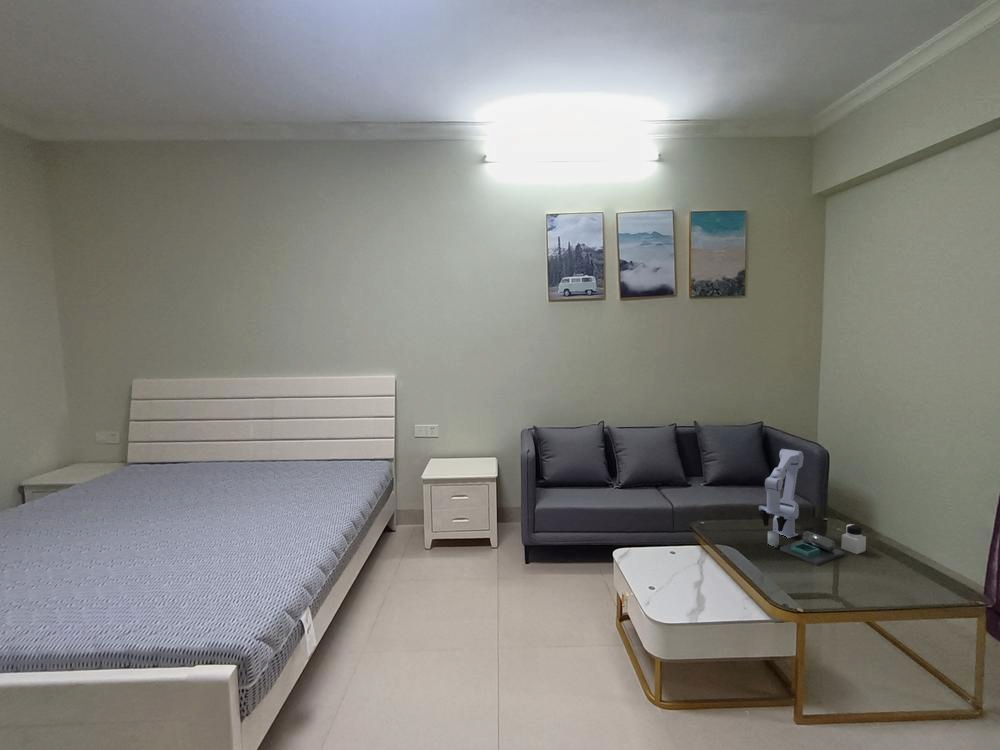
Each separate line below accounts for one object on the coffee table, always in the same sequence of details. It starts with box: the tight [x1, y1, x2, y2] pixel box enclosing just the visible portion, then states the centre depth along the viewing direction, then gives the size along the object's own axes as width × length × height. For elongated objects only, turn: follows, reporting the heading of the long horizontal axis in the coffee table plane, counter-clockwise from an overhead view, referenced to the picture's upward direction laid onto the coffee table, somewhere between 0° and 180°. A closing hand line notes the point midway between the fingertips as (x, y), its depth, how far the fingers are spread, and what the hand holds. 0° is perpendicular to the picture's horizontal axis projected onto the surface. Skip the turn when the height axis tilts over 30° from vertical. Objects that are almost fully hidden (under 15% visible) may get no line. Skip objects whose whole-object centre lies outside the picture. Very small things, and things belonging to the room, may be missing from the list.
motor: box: [779, 530, 845, 566], centre depth 238 cm, size 18×20×7 cm
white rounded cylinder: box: [767, 530, 780, 548], centre depth 247 cm, size 5×5×6 cm
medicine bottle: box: [841, 523, 867, 555], centre depth 238 cm, size 7×7×12 cm
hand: (773, 528), depth 246 cm, fingers open, 7 cm apart
